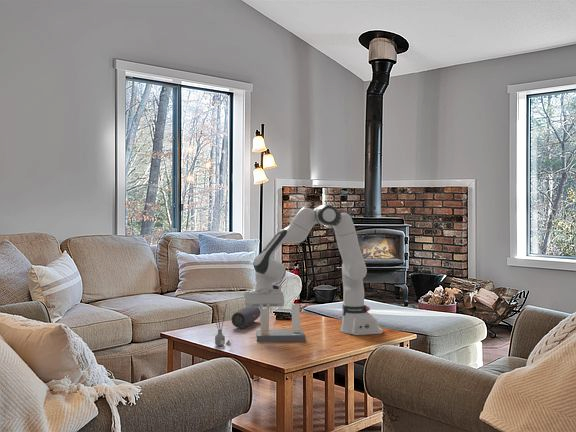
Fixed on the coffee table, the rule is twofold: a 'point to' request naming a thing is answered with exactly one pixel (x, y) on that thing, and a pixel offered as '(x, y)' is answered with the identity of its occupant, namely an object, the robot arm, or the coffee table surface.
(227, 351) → the coffee table surface
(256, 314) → the bluetooth speaker
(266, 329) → the lever
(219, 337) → the reed diffuser
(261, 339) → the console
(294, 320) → the lever
